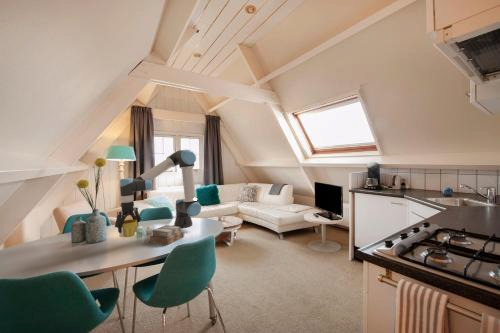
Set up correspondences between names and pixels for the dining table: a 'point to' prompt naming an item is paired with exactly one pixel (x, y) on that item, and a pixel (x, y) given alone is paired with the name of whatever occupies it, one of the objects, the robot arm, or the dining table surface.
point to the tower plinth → (166, 240)
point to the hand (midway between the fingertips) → (129, 234)
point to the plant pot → (129, 227)
